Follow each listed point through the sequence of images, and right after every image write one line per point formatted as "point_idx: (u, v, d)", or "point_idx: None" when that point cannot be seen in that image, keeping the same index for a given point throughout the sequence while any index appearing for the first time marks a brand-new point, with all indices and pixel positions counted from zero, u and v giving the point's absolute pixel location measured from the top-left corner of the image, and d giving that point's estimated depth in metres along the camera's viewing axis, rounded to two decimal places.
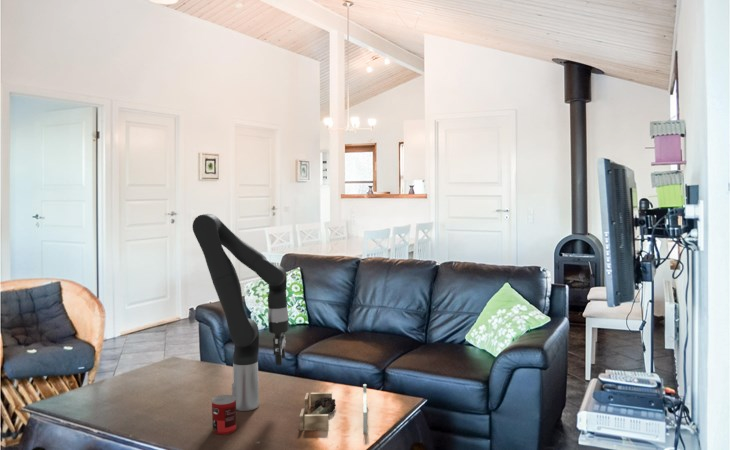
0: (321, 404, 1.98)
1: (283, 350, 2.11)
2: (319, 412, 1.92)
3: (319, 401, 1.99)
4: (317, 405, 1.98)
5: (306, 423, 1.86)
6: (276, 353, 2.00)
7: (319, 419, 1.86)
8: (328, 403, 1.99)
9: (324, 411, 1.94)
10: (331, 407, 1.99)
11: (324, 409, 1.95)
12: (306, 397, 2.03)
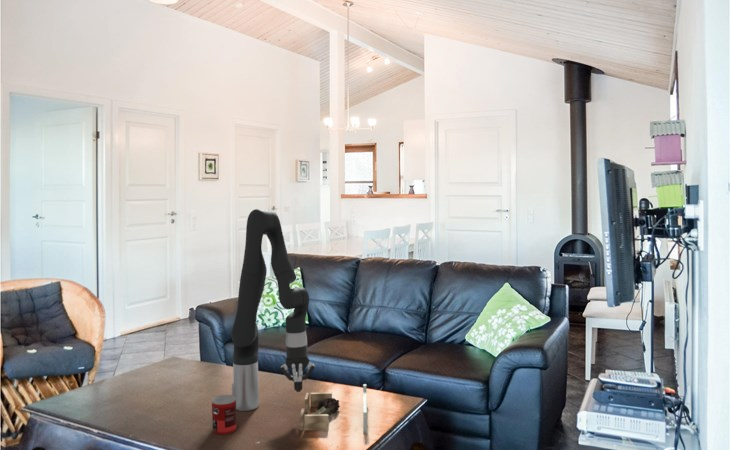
0: (324, 405, 1.97)
1: None
2: (321, 413, 1.91)
3: (322, 402, 1.99)
4: (320, 406, 1.98)
5: (306, 423, 1.86)
6: None
7: (319, 419, 1.86)
8: (331, 404, 1.98)
9: (326, 412, 1.93)
10: (334, 408, 1.98)
11: (326, 410, 1.94)
12: (306, 397, 2.03)
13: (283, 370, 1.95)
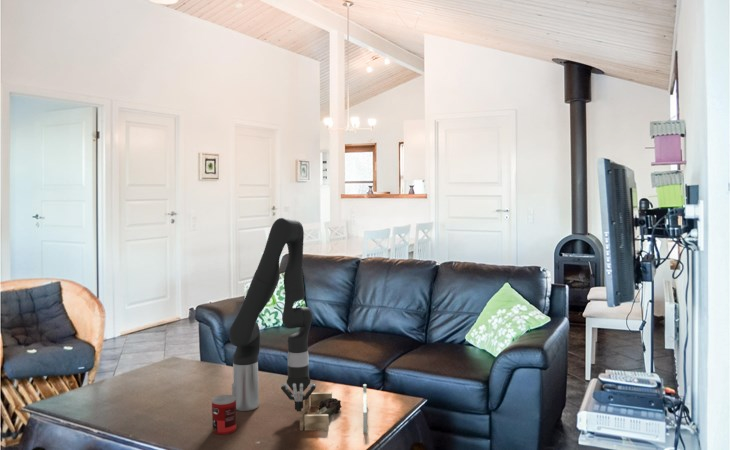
0: (325, 405, 1.97)
1: None
2: (322, 413, 1.91)
3: (324, 402, 1.98)
4: (321, 406, 1.98)
5: (306, 423, 1.86)
6: None
7: (319, 419, 1.86)
8: (332, 404, 1.98)
9: (327, 412, 1.93)
10: (335, 408, 1.98)
11: (327, 410, 1.94)
12: None
13: (284, 389, 1.95)
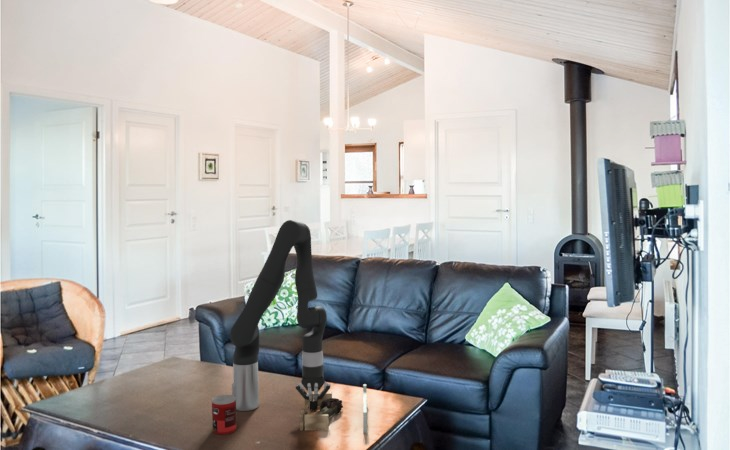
0: (326, 405, 1.97)
1: None
2: (323, 413, 1.91)
3: (325, 402, 1.98)
4: (323, 406, 1.98)
5: (306, 423, 1.86)
6: None
7: (319, 419, 1.86)
8: (334, 404, 1.98)
9: (328, 412, 1.93)
10: (337, 408, 1.98)
11: (328, 410, 1.94)
12: None
13: (299, 389, 1.95)
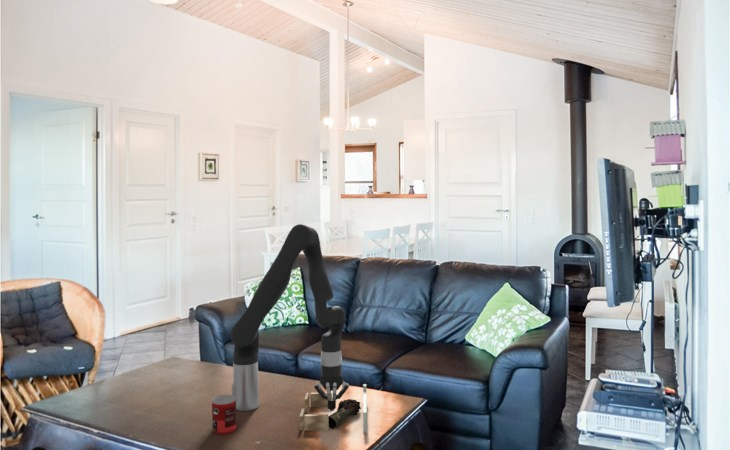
0: (344, 406, 1.96)
1: None
2: (339, 414, 1.90)
3: (342, 403, 1.97)
4: (340, 407, 1.97)
5: (306, 423, 1.86)
6: None
7: (319, 419, 1.86)
8: (351, 405, 1.96)
9: (345, 413, 1.92)
10: (354, 410, 1.96)
11: (345, 411, 1.92)
12: (306, 397, 2.03)
13: (317, 388, 1.95)
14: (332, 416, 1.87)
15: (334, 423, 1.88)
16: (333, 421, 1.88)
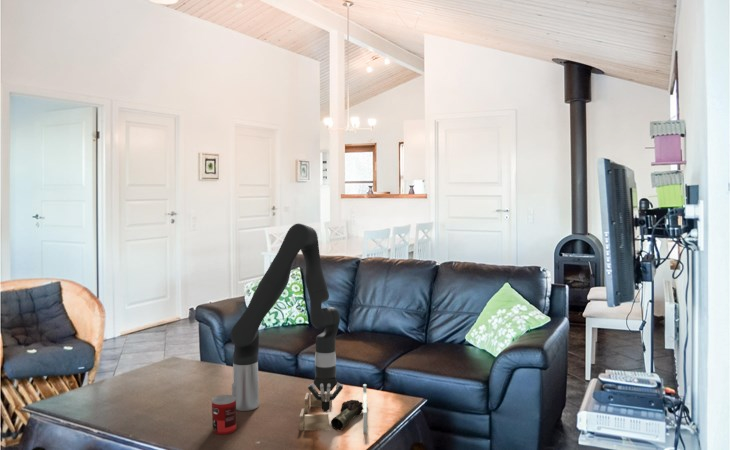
0: (347, 407, 1.95)
1: None
2: (344, 415, 1.89)
3: (345, 404, 1.96)
4: (343, 408, 1.96)
5: (306, 423, 1.86)
6: None
7: (319, 419, 1.86)
8: (355, 406, 1.96)
9: (350, 414, 1.91)
10: (358, 410, 1.96)
11: (350, 412, 1.92)
12: (306, 397, 2.03)
13: (311, 389, 1.96)
14: (338, 417, 1.86)
15: (340, 424, 1.87)
16: (339, 422, 1.87)
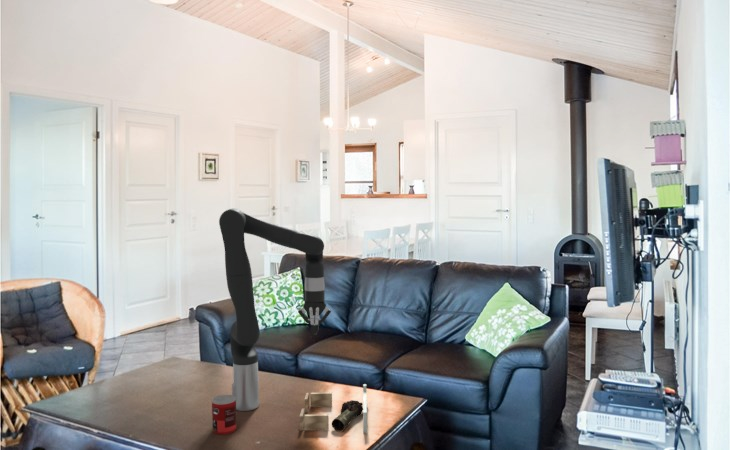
0: (348, 407, 1.95)
1: None
2: (345, 416, 1.88)
3: (346, 404, 1.96)
4: (344, 408, 1.95)
5: (306, 423, 1.86)
6: None
7: (319, 419, 1.86)
8: (355, 407, 1.95)
9: (350, 415, 1.90)
10: (358, 411, 1.95)
11: (350, 413, 1.91)
12: (306, 397, 2.03)
13: (301, 313, 2.07)
14: (339, 418, 1.86)
15: (341, 425, 1.86)
16: (340, 423, 1.86)
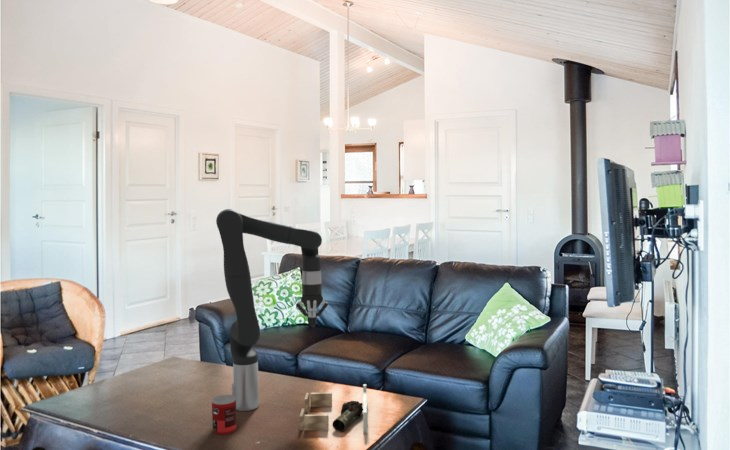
0: (348, 408, 1.94)
1: None
2: (346, 416, 1.88)
3: (346, 405, 1.95)
4: (344, 409, 1.95)
5: (306, 423, 1.86)
6: None
7: (319, 419, 1.86)
8: (355, 407, 1.95)
9: (351, 415, 1.90)
10: (358, 411, 1.95)
11: (351, 413, 1.91)
12: (306, 397, 2.03)
13: (299, 306, 2.11)
14: (340, 419, 1.85)
15: (342, 426, 1.86)
16: (341, 424, 1.86)
